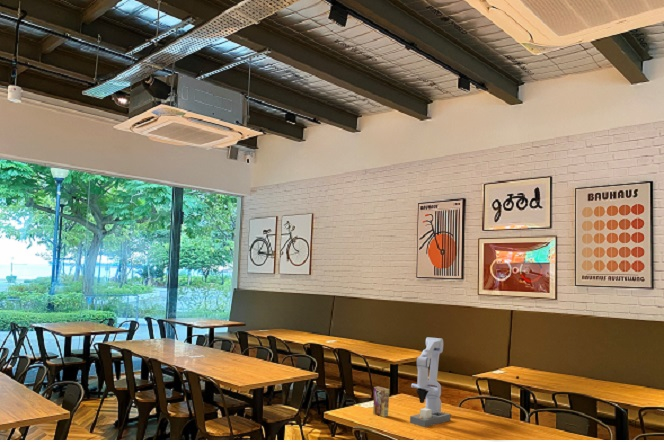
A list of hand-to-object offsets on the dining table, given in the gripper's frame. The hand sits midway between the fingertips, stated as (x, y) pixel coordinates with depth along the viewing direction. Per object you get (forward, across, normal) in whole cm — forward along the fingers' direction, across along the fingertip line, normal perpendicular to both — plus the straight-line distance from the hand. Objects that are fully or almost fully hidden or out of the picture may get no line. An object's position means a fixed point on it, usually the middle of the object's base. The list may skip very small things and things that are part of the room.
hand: (422, 402), depth 292 cm
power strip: (+10, +4, +2) cm, 11 cm away
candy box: (+10, -21, -11) cm, 26 cm away
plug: (+9, +5, -3) cm, 10 cm away
